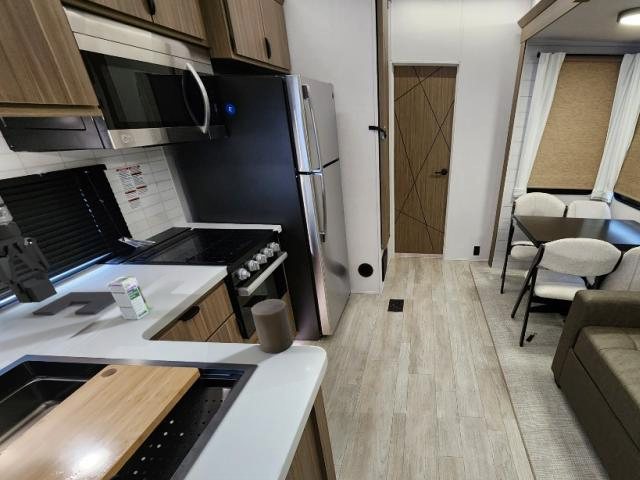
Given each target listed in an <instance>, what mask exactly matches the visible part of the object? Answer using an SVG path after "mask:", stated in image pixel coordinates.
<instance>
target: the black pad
mask: <svg viewBox="0 0 640 480" xmlns="http://www.w3.org/2000/svg"><path fill="white" fill-rule="evenodd" d="M22 283H23V285H24V286H25V288H26V290H27V292H28V293H29V295H30V297H31V298H32V300H33V302H32V303H39V304H40V303H41V302H44V301H45V300H48V299H49V298H51V297H53V296H56V295H57V294H58V292H57V290H56V288H55V287H54V285H53V283H52V281H51V280H50V278H49V279H35V278H34V279H33V278H31V279H28V280H26V281H23V282H22ZM14 296H15V297H16V299H17V300H18V301H19V303H21V304H23V303H22V301H21V300H20V298H19V297H18V295H17V294H16V295H15V294H14ZM32 303H31V304H32Z"/></svg>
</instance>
